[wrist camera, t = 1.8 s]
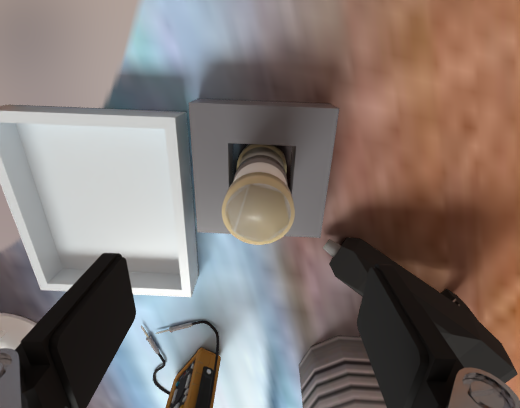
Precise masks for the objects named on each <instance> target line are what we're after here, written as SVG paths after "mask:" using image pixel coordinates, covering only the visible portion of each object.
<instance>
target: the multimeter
mask: <svg viewBox="0 0 520 408" xmlns="http://www.w3.org/2000/svg"><path fill="white" fill-rule="evenodd" d="M200 323H204V324H207V325H209V326H210V327H211V328H212V329H213V330H214V332H215V333H216V338H217V347H216V354H215V353H212V352H210V351H208V350H206V349H204V348H200V349H199V350H198V351H197V353H196V354H195V355H194V356H193V357H192V358H191V360H190V361H189V362H188V363H187V364H186V365H185V367H184V368H183V369H182V370H181V371H180V372H179V373H178V374H177V375H176V377H175V379H174V382H173V385H172V388H171V392H170V393H169V392H168V391H166V390H164V389H163V388H162V387H160V386H159V385H158V384H157V382H156V380H155V374H156V372H157V371H159V370H160V369H162V368H163V367H164V366H165V360H164V359H163V357H162V355H161V354H160V352H159V349H158V347H157V346H156V344H155V343H154V341H153V339H152V338H151V335H149V336H148V334H147V332H146V331H145V329H144V328H143V327H142V326H141V328H142V330H143V331H144V333H145V334H146V336H147V338H146V340H148V342H149V343H150V345H151V347H152V348H153V350H154V351H155V353H156V354H158V355H159V357H160V358H161V360H162V362H163V365H162V366H161V367H159V368H158V369H156V370H155V372H154V374H153V381H154V383H155V385H156V386H157V387H158V388H159V389H161V390H162V391H164V392H165V393H167V394H168V395H169V398H168V401H167V405H166V408H213V403H214V397H215V391H216V384H217V378H218V371H219V366H220V360H221V357H220V356H219V355H218V351H219V336H218V332H217V330H216V329H215V328H214V327H213V326H212V325H211V324H210V323H209V322H206V321H197V322H193V323H192V322H191V323H186V324H182V325H178V326H174V327H170V328H169V329H167V330H164V331H160V332H157V333H155V334H159V333H163V332H167V331H170V332H173V331H176V330H180V329H184V328H188V327H191V326H193V325H195V324H200Z"/></svg>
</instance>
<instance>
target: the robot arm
mask: <svg viewBox="0 0 520 408" xmlns="http://www.w3.org/2000/svg"><path fill="white" fill-rule="evenodd" d="M135 315H136V309H135V304H134V298H133V293H132V288H131V282H130V277H129V272H128V266H127V261H126V259H125V258H124V257H122V255H121V254H119V253H103V254H102V255H101V256H100V257H99V258H98V259H97V260H96V261H95V262H94V263H93V264H92V265H91V266H90V267H89V268H88V269H87V271H86V272H85V273H84V274H83V275H82V276H81V277H80V278H79V279H78V280H77V281H76V282H75V283H74V284H73V286H72V287H71V288H70V289H69V290H68V291H67V292H66V293H65V294H64V295H63V296H62V297H61V298H60V299H59V301H58V302H57V303H56V304H55V305H54V306H53V307H52V308H51V309H50V310H49V311H48V312H47V313H46V314H45V316H44V317H43V318H42V319H41V320H40V321H39V322H38V323H37V324H36V325H35V326H34V327H33V328H32V329H31V331H30V332H29V333H28V334H27V335H26V336H25V337H24V338H23V339H22V340H21V344H20V345H19V346H18V347H17V348H16V349H15V350H13V349H9V348H2V349H0V408H86V407H87V406H88V404H89V402H90V400H91V398H92V396H93V395H94V393H95V391H96V389H97V387H98V385H99V384H100V382H101V380H102V378H103V376H104V374H105V373H106V371H107V369H108V367H109V365H110V363H111V362H112V360H113V358H114V356H115V354H116V352H117V351H118V349H119V347H120V345H121V343H122V341H123V340H124V338H125V336H126V334H127V332H128V330H129V329H130V327H131V325H132V323H133V321H134V319H135ZM357 326H358V330H359V333H360V336H361V339H362V341H363V344H364V347H365V349H366V352H367V355H368V358H369V360H370V363H371V366H372V369H373V371H374V374H375V377H376V379H377V382H378V385H379V388H380V390H381V393H382V396H383V399H384V401H385V404H386V407H387V408H520V400H519V399H518V397H517V395H516V394H515V393H514V392H513V391H512V390H511V388H510V387H508V386H507V385H506V384H505V383H504V382H503V381H501V380H500V379H498V378H497V377H495V376H494V375H492V374H490V373H488V372H486V371H483V370H481V369H476V368H464V367H463V365H462V364H461V362H460V361H459V359H458V358H457V356H456V355H455V353H454V352H453V350H452V349H451V348H450V346H449V345H448V343H447V342H446V340H445V339H444V337H443V336H442V334H441V333H440V331H439V330H438V329H437V327H436V326H435V324H434V323H433V321H432V320H431V318H430V317H429V315H428V314H427V313H426V311H425V310H424V308H423V307H422V305H421V304H420V303H419V302H417V300H416V299H415V297H414V296H413V294H412V293H411V291H410V290H409V288H408V287H407V286H406V284H405V283H404V281H403V280H402V278H401V277H400V275H399V274H398V272H397V271H396V269H395V268H394V266H393V265H391V264H375V265H374V267H371V268H370V269H369V272H368V276H367V281H366V285H365V289H364V293H363V298H362V302H361V306H360V311H359V315H358V320H357Z"/></svg>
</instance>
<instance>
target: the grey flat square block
mask: <svg viewBox="0 0 520 408" xmlns="http://www.w3.org/2000/svg"><path fill="white" fill-rule="evenodd" d="M338 114H339V108H337V107H335V106H334V105H332V104H323V103H298V102H272V101H246V100H221V99H197V100H194V101H192V102H189V117H190V131H191V145H192V160H193V174H194V188H195V203H196V217H197V231H198V232H205V233H227V234H231V233H230V232H229V231H228V229H227V228H226V226H225V224H224V222H223V218H222V205H223V202H224V199H225V196H226V193H227V190H228V189H229V187H230V186H231V184H232V183H233V143H236V144H260V145H284V146H292V156H291V168H290V180H289V190H290V192H291V194H292V198H293V203H294V209H295V216H294V221H293V224H292V226H291V228H290V229H289V231H288V232H287V233H286V234H285V235H284V236H294V237H316V238H320V237H321V230H322V223H323V216H324V209H325V202H326V196H327V189H328V182H329V175H330V168H331V161H332V155H333V148H334V141H335V134H336V127H337V120H338Z"/></svg>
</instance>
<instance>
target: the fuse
mask: <svg viewBox="0 0 520 408" xmlns="http://www.w3.org/2000/svg"><path fill="white" fill-rule="evenodd" d="M286 171H287V165H286V159H285V156H284V154H283V152H282V151H281V149H280V148H279V147H278V146H276V145H260V144H249V145H247V146H246V147H245V148H244V149H243V150H242V152H241V153H240V156H239V159H238V161H237V171H236V174H235V177H234V180H233V183H232V184H231V186H230V187H229V189H228V190H227V193H226V196H225V199H224V202H223V205H222V218H223V222H224V224H225V226H226V228H227V229H228V231H229V232H230V233H231V234H232V235H233V236H235V237H236V238H237V239H239V240H241V241H243V242H246V243H249V244H255V245H263V244H269V243H272V242H275V241H277V240H279V239H280V238H282V237H283V236H284V235H285V234H286V233H287V232H288V231H289V229H290V228H291V226H292V224H293V221H294V216H295V209H294V203H293V198H292V194H291V192H290V190H289V188H288V183H287V177H286Z"/></svg>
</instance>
